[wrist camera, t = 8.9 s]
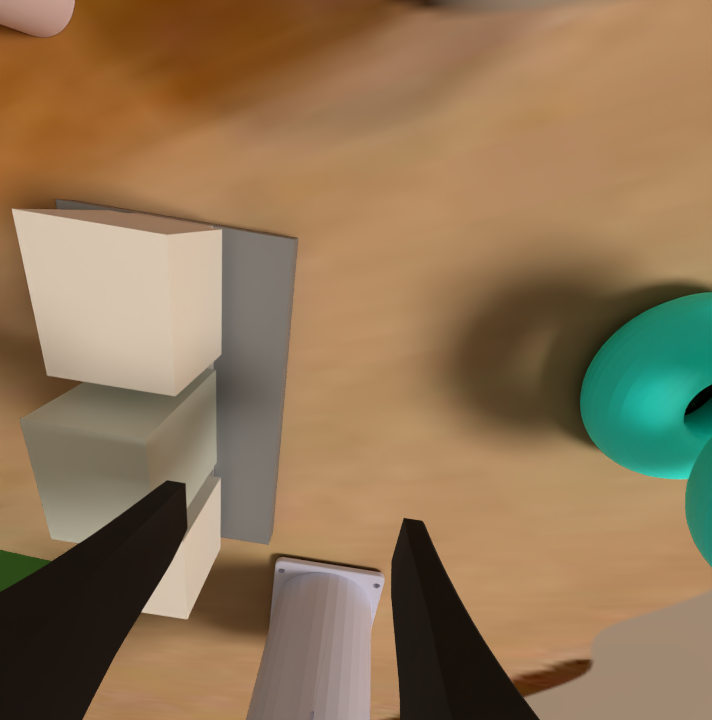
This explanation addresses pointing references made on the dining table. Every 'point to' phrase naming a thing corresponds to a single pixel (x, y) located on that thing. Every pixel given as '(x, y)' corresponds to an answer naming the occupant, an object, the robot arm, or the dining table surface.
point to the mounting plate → (248, 371)
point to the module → (117, 450)
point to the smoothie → (36, 16)
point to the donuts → (658, 402)
